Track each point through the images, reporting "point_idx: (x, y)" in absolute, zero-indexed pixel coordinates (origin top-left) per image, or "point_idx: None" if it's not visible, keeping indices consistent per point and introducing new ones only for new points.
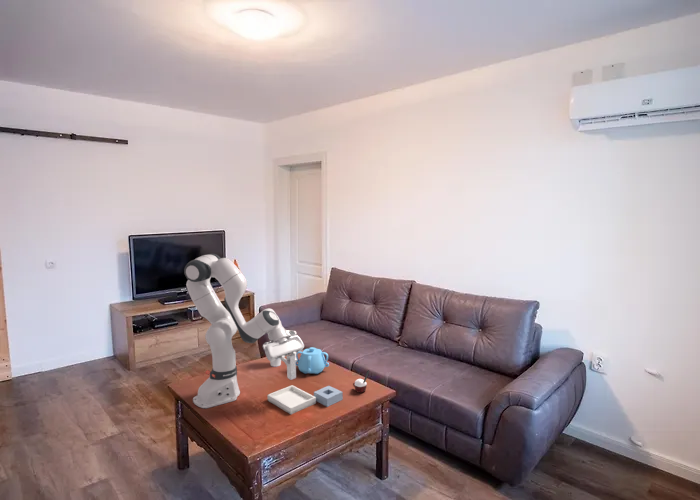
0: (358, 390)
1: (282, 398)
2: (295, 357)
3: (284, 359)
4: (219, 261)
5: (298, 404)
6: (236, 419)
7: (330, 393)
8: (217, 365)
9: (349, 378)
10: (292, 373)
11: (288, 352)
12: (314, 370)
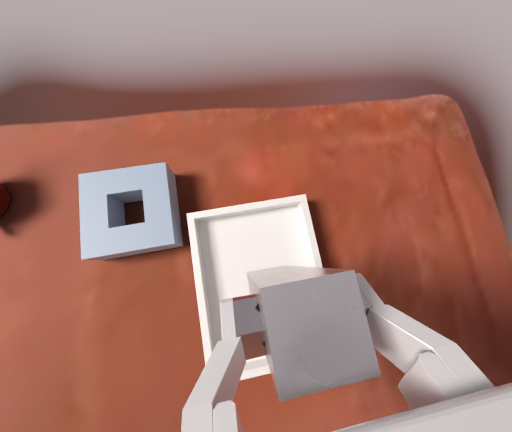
0: (3, 189)
1: None
2: (233, 329)
3: (409, 319)
4: None
5: (270, 202)
6: (459, 274)
7: (127, 190)
8: None
9: None
10: (278, 268)
11: (368, 425)
12: None
